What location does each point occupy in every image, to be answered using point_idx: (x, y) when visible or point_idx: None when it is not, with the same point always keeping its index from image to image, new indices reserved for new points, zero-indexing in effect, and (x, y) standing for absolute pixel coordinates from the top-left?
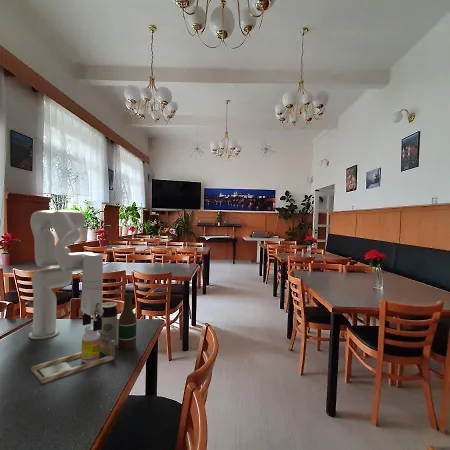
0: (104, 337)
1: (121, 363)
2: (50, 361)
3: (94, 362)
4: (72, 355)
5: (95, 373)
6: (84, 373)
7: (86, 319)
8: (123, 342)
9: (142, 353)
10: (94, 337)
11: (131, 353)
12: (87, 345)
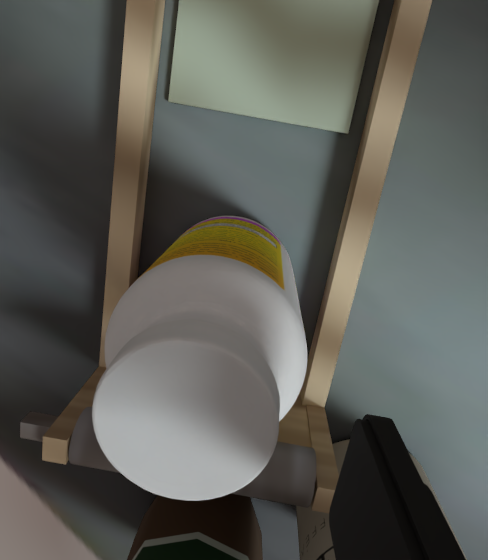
0: None
1: (18, 355)
2: (415, 15)
3: (109, 239)
4: (356, 204)
5: (11, 172)
6: (66, 124)
7: (367, 533)
8: (163, 521)
9: (46, 504)
10: (106, 347)
11: (97, 473)
12: (159, 259)
